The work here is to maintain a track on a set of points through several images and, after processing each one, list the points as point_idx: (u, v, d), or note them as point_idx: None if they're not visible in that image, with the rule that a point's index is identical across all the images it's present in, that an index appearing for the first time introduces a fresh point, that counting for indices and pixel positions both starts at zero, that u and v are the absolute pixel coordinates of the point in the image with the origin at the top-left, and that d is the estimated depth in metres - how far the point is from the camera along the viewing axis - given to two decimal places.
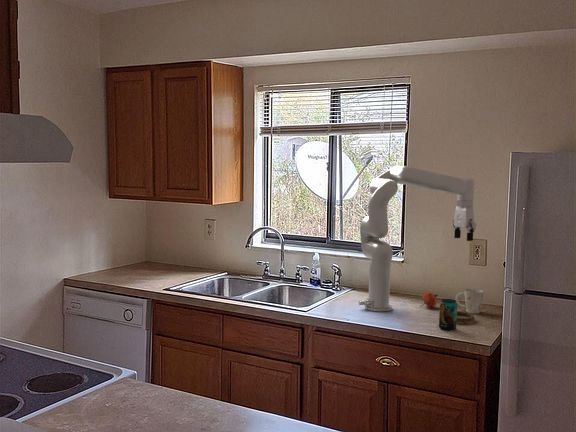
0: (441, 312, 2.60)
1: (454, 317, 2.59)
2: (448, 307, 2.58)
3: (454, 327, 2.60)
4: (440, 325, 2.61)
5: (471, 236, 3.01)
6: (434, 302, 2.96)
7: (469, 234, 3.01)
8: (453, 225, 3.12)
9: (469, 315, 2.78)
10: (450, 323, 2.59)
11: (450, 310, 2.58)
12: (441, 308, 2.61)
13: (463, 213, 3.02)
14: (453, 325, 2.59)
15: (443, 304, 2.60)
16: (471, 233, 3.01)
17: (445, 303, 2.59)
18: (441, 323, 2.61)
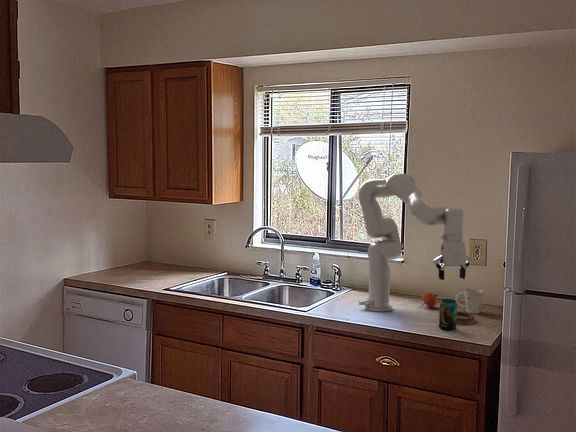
0: (441, 312, 2.60)
1: (454, 317, 2.59)
2: (448, 307, 2.58)
3: (454, 327, 2.60)
4: (440, 325, 2.61)
5: None
6: (434, 302, 2.96)
7: None
8: (438, 265, 2.62)
9: (469, 315, 2.78)
10: (450, 323, 2.59)
11: (450, 310, 2.58)
12: (441, 308, 2.61)
13: (462, 248, 2.62)
14: (453, 325, 2.59)
15: (443, 304, 2.60)
16: None
17: (445, 303, 2.59)
18: (441, 323, 2.61)
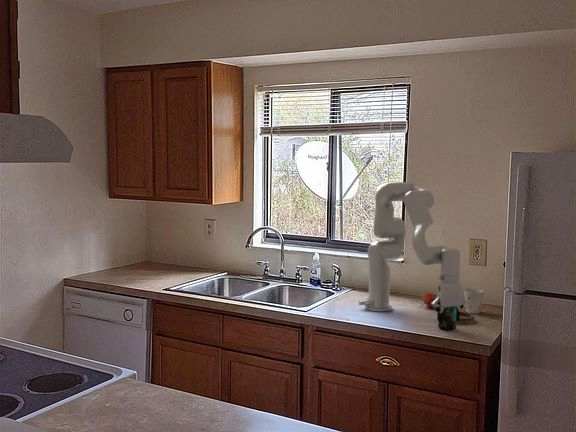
0: None
1: (454, 317, 2.59)
2: (448, 307, 2.58)
3: (453, 327, 2.59)
4: (440, 325, 2.61)
5: None
6: None
7: (458, 313, 2.62)
8: (437, 308, 2.58)
9: (469, 315, 2.78)
10: (450, 323, 2.59)
11: (450, 310, 2.58)
12: (440, 308, 2.60)
13: (459, 289, 2.59)
14: (452, 325, 2.59)
15: None
16: None
17: None
18: (441, 323, 2.61)
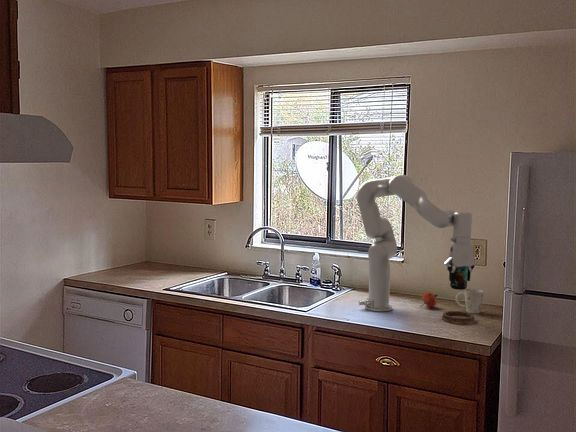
0: None
1: (465, 277, 2.72)
2: (459, 267, 2.72)
3: (464, 286, 2.73)
4: (451, 284, 2.75)
5: None
6: (434, 302, 2.96)
7: (469, 273, 2.76)
8: (449, 268, 2.71)
9: (469, 315, 2.78)
10: (461, 282, 2.72)
11: (461, 270, 2.72)
12: None
13: (470, 250, 2.72)
14: (464, 284, 2.73)
15: None
16: None
17: None
18: (452, 282, 2.74)
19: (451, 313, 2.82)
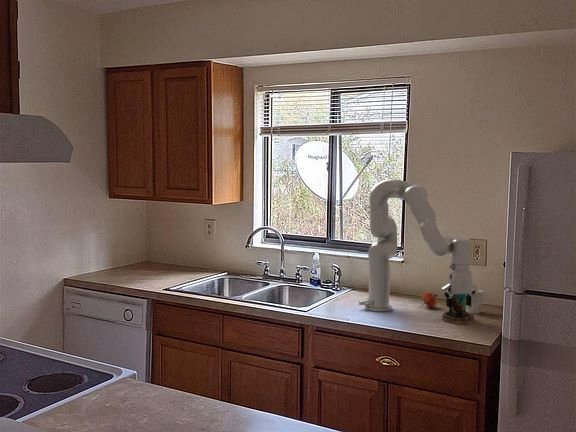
0: None
1: (463, 306, 2.74)
2: (457, 297, 2.73)
3: (463, 316, 2.74)
4: (450, 314, 2.76)
5: None
6: (434, 302, 2.96)
7: (470, 298, 2.77)
8: (446, 294, 2.72)
9: (469, 315, 2.78)
10: (459, 312, 2.74)
11: (460, 300, 2.73)
12: None
13: (469, 278, 2.73)
14: (462, 314, 2.74)
15: None
16: None
17: None
18: (451, 312, 2.75)
19: None
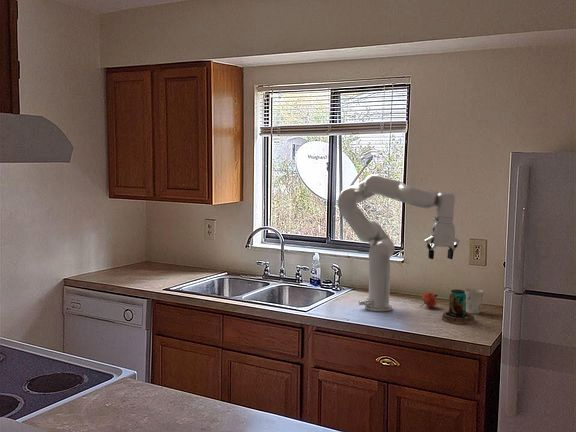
0: (451, 302, 2.75)
1: (463, 306, 2.74)
2: (458, 297, 2.73)
3: (463, 316, 2.74)
4: (450, 314, 2.76)
5: None
6: (434, 302, 2.96)
7: (452, 252, 2.83)
8: (428, 245, 2.79)
9: (469, 315, 2.78)
10: (459, 312, 2.74)
11: (460, 300, 2.73)
12: (450, 298, 2.75)
13: (451, 231, 2.79)
14: (462, 314, 2.74)
15: (453, 294, 2.74)
16: None
17: (455, 293, 2.74)
18: (451, 312, 2.75)
19: None
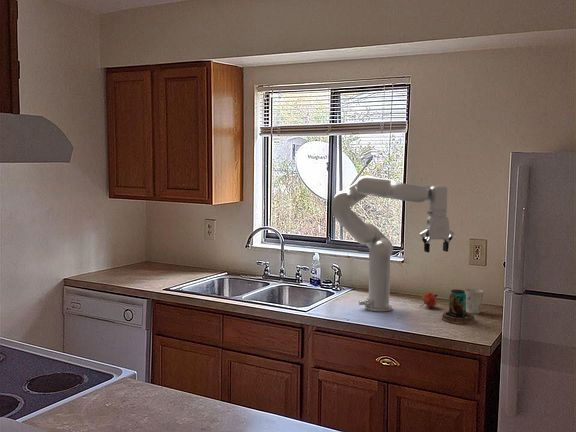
0: (451, 302, 2.75)
1: (463, 307, 2.74)
2: (458, 297, 2.73)
3: (463, 316, 2.74)
4: (450, 314, 2.76)
5: None
6: (434, 302, 2.96)
7: (447, 244, 2.86)
8: (424, 239, 2.81)
9: (469, 315, 2.78)
10: (459, 312, 2.74)
11: (460, 300, 2.73)
12: (450, 298, 2.75)
13: (446, 223, 2.82)
14: (462, 314, 2.74)
15: (453, 294, 2.74)
16: None
17: (455, 293, 2.74)
18: (451, 312, 2.75)
19: None
